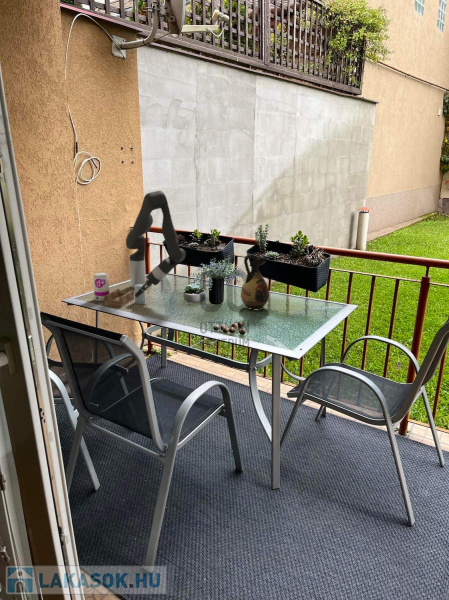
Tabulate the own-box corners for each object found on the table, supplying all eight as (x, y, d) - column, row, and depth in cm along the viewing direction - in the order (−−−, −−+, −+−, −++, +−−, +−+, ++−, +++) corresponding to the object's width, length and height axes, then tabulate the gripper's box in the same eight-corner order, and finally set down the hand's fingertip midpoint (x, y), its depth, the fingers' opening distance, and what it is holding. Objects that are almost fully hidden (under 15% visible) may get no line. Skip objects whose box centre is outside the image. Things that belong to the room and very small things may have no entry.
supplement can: (107, 301, 251) (105, 275, 246) (93, 301, 251) (91, 275, 246) (111, 297, 258) (109, 272, 254) (97, 297, 258) (95, 272, 254)
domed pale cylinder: (137, 300, 253) (136, 283, 250) (146, 301, 252) (146, 284, 249) (133, 303, 248) (132, 286, 245) (142, 304, 247) (141, 287, 244)
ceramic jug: (261, 302, 253) (264, 250, 244) (272, 311, 239) (275, 256, 230) (233, 305, 248) (234, 252, 239) (243, 313, 234) (244, 258, 225)
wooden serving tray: (118, 297, 258) (117, 288, 257) (134, 298, 256) (133, 290, 254) (104, 305, 244) (104, 296, 242) (121, 307, 241) (120, 298, 240)
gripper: (155, 267, 251) (136, 285, 255) (149, 273, 237) (129, 292, 241) (164, 276, 252) (145, 295, 256) (159, 283, 238) (139, 302, 242)
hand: (137, 294), depth 249 cm, fingers open, 8 cm apart
